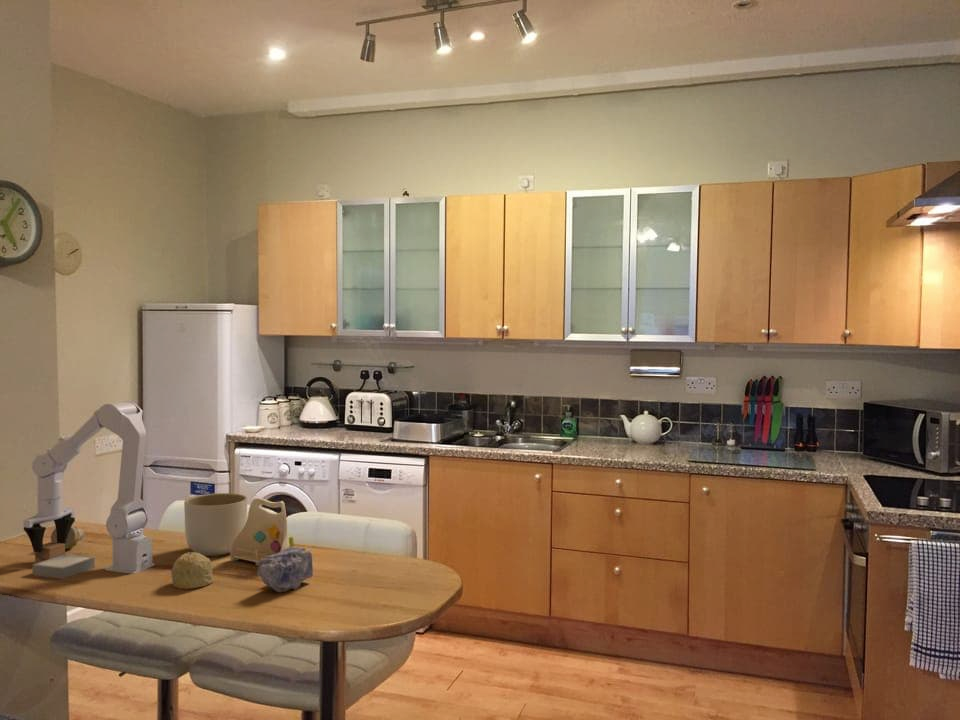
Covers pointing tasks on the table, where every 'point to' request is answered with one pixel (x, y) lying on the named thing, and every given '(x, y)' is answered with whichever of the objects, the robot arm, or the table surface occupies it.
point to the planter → (214, 522)
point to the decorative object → (192, 571)
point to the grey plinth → (63, 566)
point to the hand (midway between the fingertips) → (49, 547)
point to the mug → (69, 536)
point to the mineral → (286, 569)
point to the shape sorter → (262, 533)
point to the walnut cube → (50, 551)
